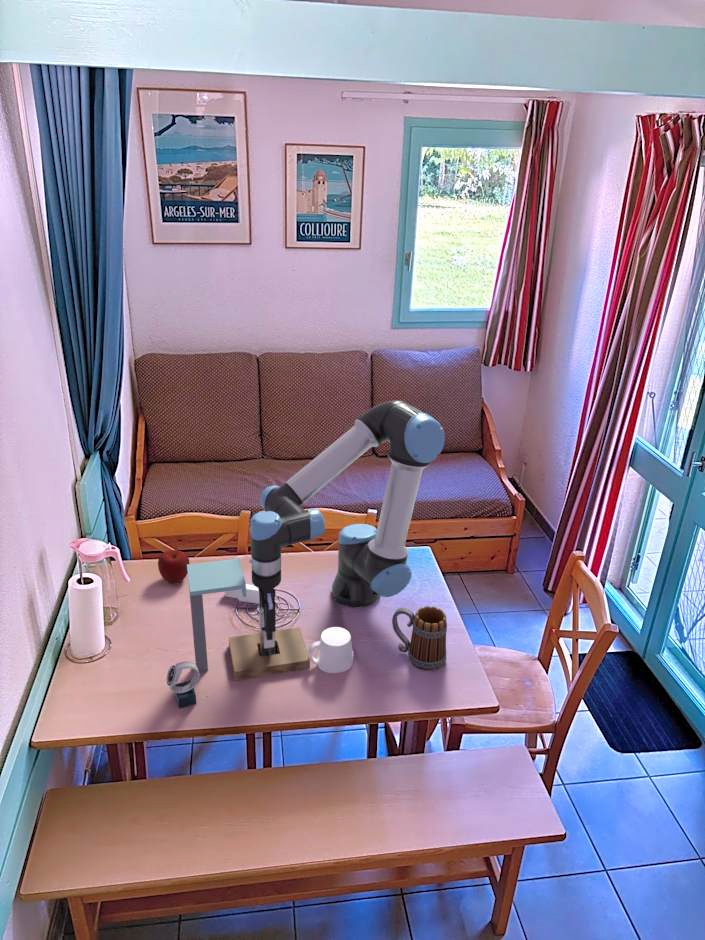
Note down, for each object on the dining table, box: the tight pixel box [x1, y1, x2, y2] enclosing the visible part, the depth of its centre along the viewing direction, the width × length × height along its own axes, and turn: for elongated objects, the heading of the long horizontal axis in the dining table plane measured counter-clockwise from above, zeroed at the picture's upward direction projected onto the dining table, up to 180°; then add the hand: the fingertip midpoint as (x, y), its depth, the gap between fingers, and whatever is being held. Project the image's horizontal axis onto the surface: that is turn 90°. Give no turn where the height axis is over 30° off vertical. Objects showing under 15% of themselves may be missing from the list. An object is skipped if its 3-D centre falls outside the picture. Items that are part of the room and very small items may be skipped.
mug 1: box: [308, 626, 354, 674], centre depth 195 cm, size 12×9×8 cm
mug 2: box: [391, 605, 448, 672], centre depth 197 cm, size 16×11×15 cm
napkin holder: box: [225, 583, 260, 605], centre depth 222 cm, size 15×11×6 cm
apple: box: [157, 549, 190, 585], centre depth 227 cm, size 10×10×10 cm
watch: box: [166, 661, 201, 709], centre depth 181 cm, size 6×8×11 cm
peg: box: [258, 607, 276, 656], centre depth 195 cm, size 4×4×14 cm
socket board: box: [228, 627, 311, 682], centre depth 198 cm, size 20×14×3 cm
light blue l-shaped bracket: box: [187, 558, 247, 673], centre depth 189 cm, size 14×12×29 cm
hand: (267, 641), depth 196 cm, fingers closed on peg, 4 cm apart
